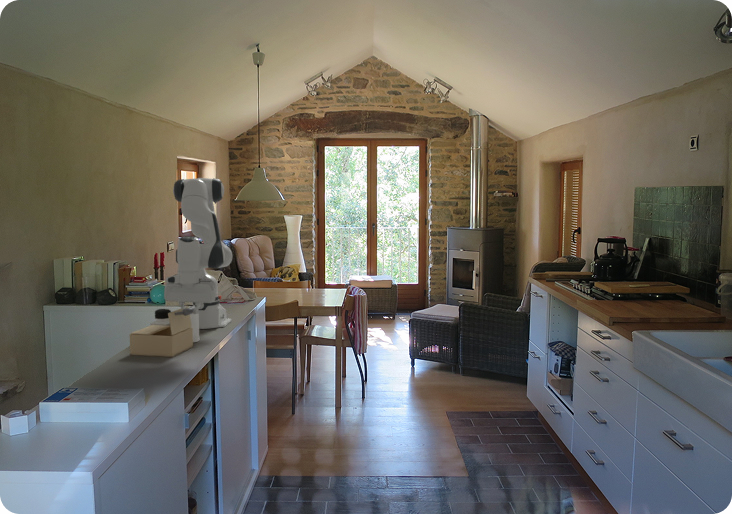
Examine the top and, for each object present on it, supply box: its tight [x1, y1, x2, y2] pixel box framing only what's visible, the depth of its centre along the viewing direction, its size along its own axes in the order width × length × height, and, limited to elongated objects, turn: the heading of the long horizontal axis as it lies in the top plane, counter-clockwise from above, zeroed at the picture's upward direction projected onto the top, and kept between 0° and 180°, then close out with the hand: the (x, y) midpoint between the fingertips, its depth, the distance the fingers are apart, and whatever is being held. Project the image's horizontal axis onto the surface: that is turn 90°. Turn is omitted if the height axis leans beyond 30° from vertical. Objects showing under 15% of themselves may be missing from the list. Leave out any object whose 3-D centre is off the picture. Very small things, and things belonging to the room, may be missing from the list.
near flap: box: [168, 305, 195, 335], centre depth 228 cm, size 15×9×6 cm
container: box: [149, 308, 172, 326], centre depth 250 cm, size 8×8×13 cm
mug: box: [190, 313, 201, 344], centre depth 245 cm, size 12×8×12 cm
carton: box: [129, 325, 194, 358], centre depth 231 cm, size 16×18×8 cm
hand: (190, 313), depth 227 cm, fingers open, 3 cm apart
